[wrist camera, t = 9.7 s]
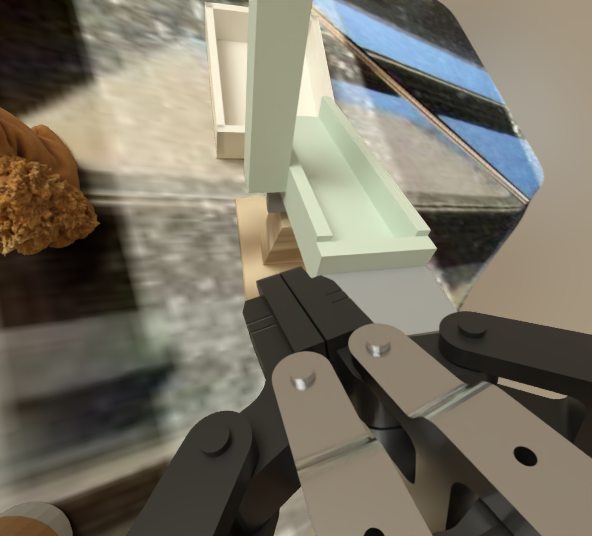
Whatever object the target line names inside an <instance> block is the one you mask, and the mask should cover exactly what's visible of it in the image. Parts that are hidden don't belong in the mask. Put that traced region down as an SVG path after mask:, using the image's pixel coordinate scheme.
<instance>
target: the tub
mask: <svg viewBox="0 0 592 536" xmlns="http://www.w3.org/2000/svg"><path fill="white" fill-rule="evenodd" d="M248 13H249V7H243V6H235V5H227V4H219V3H211V2H205V32H206V48H207V59H208V69H209V80H210V90H211V101H212V112H213V122H214V133H215V144H216V154H217V158H236V159H244V147H245V113H246V80H247V46H248ZM322 96H328V97H331V98H332V99H333V101H334V96H333V91H332V86H331V81H330V76H329V71H328V66H327V61H326V55H325V50H324V45H323V40H322V35H321V30H320V25H319V20H318V16H314V15H310V22H309V29H308V36H307V43H306V51H305V58H304V65H303V72H302V79H301V87H300V94H299V101H298V108H297V115H296V116H311V117H318V116H319V110H320V105H321V99H322ZM334 102H335V101H334Z"/></svg>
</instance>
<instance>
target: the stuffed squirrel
mask: <svg viewBox="0 0 592 536" xmlns="http://www.w3.org/2000/svg"><path fill="white" fill-rule="evenodd" d="M96 220H97V215H96V213H95V212H94V207H93V205H92V204H90V203H89V200H87V198H86V197H85V196H84V195H83V192H81V191H80V185H79V178H78V173H77V163H76V161H75V159H74V157H73V156H72V154H71V153H70V151H69V150H68V149H67V148H66V146H65V145H64V143H63V142H62V141H61V139H60V138H59V137H58V136H57V135H56V134H55V133H54V132H53V131H52V130H50V129H49V128H48V127H47V126H45V125H38V126H34V127H32V128H31V129H30V128H29V127H28V126H27V125H25V124H24V123H23V122H22V121H20V120H19V119H18V118H16V117H15V116H13V115H12V114H10V113H9V112H7V111H5V110H4V109H2V108H1V107H0V253H2V252H3V253H2V254H4V256H6V254H7V253H9V252H10V251H12V250H14V249H17V251H18V253H20V252H21V253H23V254H24V255H25V254H27V255H29V254H35V253H38V252H39V251H41V250H43V249H45V248H47V246H50V247H55V248H61V247H62V248H63V247H66V246H68V245H70V244H73V243H74V241H75V240H77V239H84V238H85V237H86V236H88V233H91V232H92V231H94V228H95V227H97V226H98V224H100V223H99V222H98V221H96Z"/></svg>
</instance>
